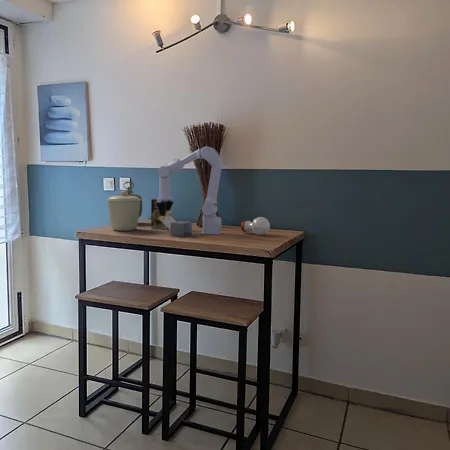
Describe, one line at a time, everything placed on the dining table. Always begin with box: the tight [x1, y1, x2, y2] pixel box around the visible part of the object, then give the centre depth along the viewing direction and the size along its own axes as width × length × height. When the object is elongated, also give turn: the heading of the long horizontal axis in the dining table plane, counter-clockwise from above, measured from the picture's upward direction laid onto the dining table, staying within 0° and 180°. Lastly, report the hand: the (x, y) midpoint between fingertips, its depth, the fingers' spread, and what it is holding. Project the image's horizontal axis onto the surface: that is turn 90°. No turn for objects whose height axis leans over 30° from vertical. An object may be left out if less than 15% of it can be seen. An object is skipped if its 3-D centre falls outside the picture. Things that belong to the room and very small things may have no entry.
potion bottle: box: [240, 216, 271, 236], centre depth 219 cm, size 9×10×15 cm
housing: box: [170, 220, 193, 238], centre depth 211 cm, size 7×10×6 cm
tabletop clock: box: [115, 181, 143, 218], centre depth 253 cm, size 14×9×25 cm, turn 130°
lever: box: [158, 210, 178, 231], centre depth 222 cm, size 11×5×6 cm
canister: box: [106, 190, 141, 232], centre depth 226 cm, size 18×18×21 cm
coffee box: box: [150, 198, 169, 230], centre depth 236 cm, size 9×6×16 cm
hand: (164, 215), depth 224 cm, fingers closed on lever, 5 cm apart
